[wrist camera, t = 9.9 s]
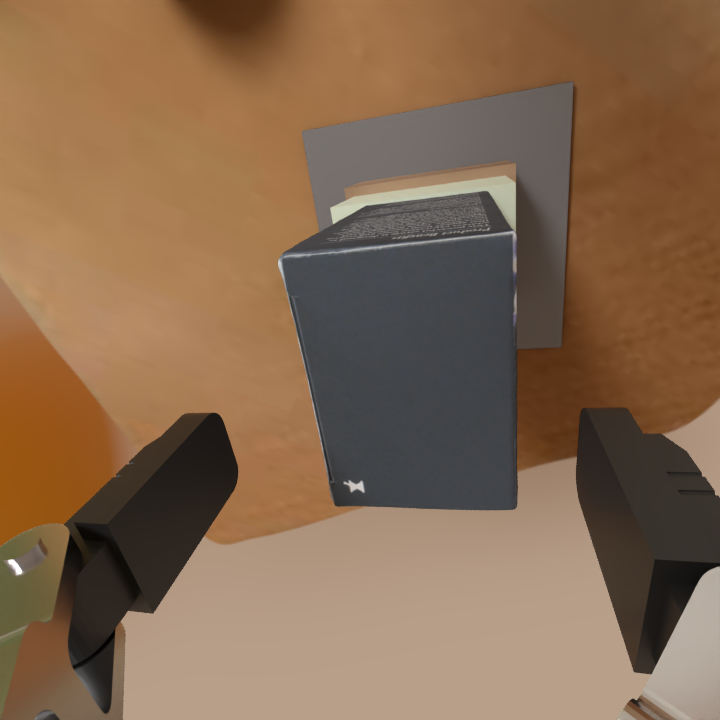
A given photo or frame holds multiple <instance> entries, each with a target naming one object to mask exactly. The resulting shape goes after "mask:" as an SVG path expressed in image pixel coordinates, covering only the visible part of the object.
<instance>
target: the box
mask: <svg viewBox="0 0 720 720" xmlns="http://www.w3.org/2000/svg"><path fill="white" fill-rule="evenodd" d="M278 266H279V270H280V272H281V275H282V277H283V281H284V285H285V288H286V292H287V295H288V300H289V304H290V308H291V312H292V316H293V320H294V323H295V327H296V332H297V337H298V342H299V346H300V351H301V355H302V359H303V363H304V367H305V371H306V375H307V380H308V384H309V390H310V395H311V399H312V403H313V409H314V413H315V418H316V422H317V427H318V431H319V436H320V441H321V447H322V451H323V456H324V461H325V467H326V471H327V477H328V482H329V490H330V493H331V498H332V500H333V502H334V504H335V506H338V507H340V506H370V507H399V508H419V509H449V510H513V509H515V508H516V507H517V490H518V485H517V325H516V315H517V292H516V288H517V235H516V233H515V231H514V230H513V229H512V228H511V226H510V224H509V223H508V222H507V220H506V219H505V217H504V216H503V214H502V212H501V211H500V209H499V208H498V206H497V204H496V203H495V201H494V199H493V198H492V196H491V195H490V193H489V192H488V191H481V192H473V193H466V194H458V195H449V196H444V197H434V198H426V199H419V200H409V201H401V202H393V203H385V204H376V205H366V206H365V207H363V208H361V209H359V210H357V211H356V212H354V213H352V214H351V215H348V216H347V217H345V218H343V219H341V220H339V221H337V222H336V223H335V224H333V225H331V226H329V227H328V228H325V229H324V230H322V231H321V232H319V233H317V234H315V235H313V236H311V237H310V238H308V239H306V240H304V241H302V242H300V243H299V244H297V245H295V246H294V247H293V248H291V249H289V250H287V251H285V252H284V253H283V254H282V255H281V257H280V258H279V260H278Z"/></svg>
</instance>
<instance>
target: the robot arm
mask: <svg viewBox="0 0 720 720" xmlns="http://www.w3.org/2000/svg"><path fill="white" fill-rule="evenodd" d="M237 479H238V465H237V462H236V459H235V456H234V453H233V449H232V446H231V443H230V440H229V437H228V434H227V431H226V428H225V425H224V422H223V420H222V418H221V416H220V415H218V414H217V413H187V414H184V415H182V416H181V417H180V418H179V419H178V420H177V421H176V422H175V423H174V424H173V425H172V426H171V427H170V428H169V429H168V430H167V431H166V432H165V433H164V434H163V435H162V436H161V437H159V438H158V439H156V440H155V441H153V442H151V443H150V444H148V445H147V446H145V447H144V448H143V449H142V450H141V451H140V452H139V453H138V454H137V455H136V456H135V457H134V458H132V459H131V460H130V461H129V465H125V466H124V467H123V468H122V469H121V470H120V471H119V472H118V473H117V474H116V477H113V478H112V479H111V480H110V481H109V482H108V483H107V484H106V485H104V486H103V487H102V488H101V489H100V490H99V491H98V492H97V493H96V494H95V495H94V496H93V497H92V498H91V499H90V500H89V501H88V502H87V503H86V504H85V505H84V506H83V507H82V508H81V509H80V510H79V511H77V513H75V514H74V515H73V516H72V517H71V518H70V519H69V520H68V521H67V522H66V523H65V524H64V525H62V524H46V525H42V526H39V527H36V528H33V529H31V530H28V531H25V532H24V533H21V534H19V535H18V536H16V537H14V538H12V539H11V540H9V541H8V542H6V543H5V544H3V545H2V546H1V547H0V720H123V696H124V665H125V636H126V635H125V629H124V626H123V624H122V623H121V620H122V618H123V617H124V616H125V614H126V613H127V611H135V612H144V613H154V611H155V610H156V608H157V607H158V605H159V604H160V602H161V601H162V599H163V598H164V596H165V595H166V593H167V591H168V590H169V589H170V587H171V586H172V584H173V582H174V581H175V579H176V578H177V576H178V575H179V573H180V572H181V570H182V569H183V567H184V566H185V564H186V563H187V561H188V560H189V558H190V556H191V555H192V553H193V552H194V550H195V549H196V547H197V545H198V544H199V543H200V541H201V540H202V538H203V537H204V535H205V534H206V532H207V531H208V529H209V527H210V526H211V524H212V523H213V521H214V520H215V518H216V517H217V515H218V514H219V512H220V511H221V509H222V508H223V506H224V505H225V503H226V502H227V500H228V498H229V497H230V495H231V494H232V492H233V491H234V489H235V487H236V484H237ZM576 484H577V491H578V498H579V502H580V505H581V508H582V511H583V515H584V518H585V521H586V524H587V527H588V530H589V533H590V536H591V540H592V543H593V546H594V549H595V552H596V555H597V558H598V561H599V564H600V568H601V571H602V574H603V577H604V580H605V583H606V586H607V589H608V592H609V596H610V599H611V602H612V605H613V608H614V611H615V614H616V617H617V620H618V624H619V627H620V630H621V633H622V636H623V639H624V642H625V645H626V649H627V652H628V655H629V658H630V661H631V664H632V667H633V670H634V672H637V673H645V674H652V675H651V677H650V679H649V681H648V683H647V685H646V687H645V689H644V690H643V692H642V694H641V696H640V697H639V698H638V700H635V699H631V700H630V701H629V702H628V703H627V705H626V706H625V708H624V709H623V711H622V712H621V714H620V715H619V717H618V719H617V720H720V498H719V496H716V495H715V491H714V489H713V488H712V486H711V485H710V484H709V482H708V481H707V479H706V478H705V477H702V473H701V471H700V470H699V468H698V467H697V465H696V464H695V463H694V461H693V460H692V458H691V457H690V456H689V454H688V453H687V451H685V450H684V449H682V448H681V447H679V446H678V445H676V444H675V443H674V442H672V441H671V440H669V439H668V438H666V437H665V436H663V435H662V434H643V433H642V431H641V430H640V428H639V426H638V425H637V423H636V421H635V420H634V418H633V416H632V415H631V413H630V412H629V410H628V409H627V408H583V409H582V411H581V414H580V423H579V437H578V451H577V465H576Z"/></svg>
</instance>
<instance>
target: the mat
mask: <svg viewBox="0 0 720 720" xmlns="http://www.w3.org/2000/svg"><path fill="white" fill-rule="evenodd" d="M573 83H574V81H573V82H567V83H562V84H556V85H551V86H545V87H540V88H534V89H529V90H524V91H518V92H513V93H507V94H502V95H496V96H491V97H485V98H480V99H475V100H469V101H464V102H458V103H453V104H447V105H442V106H436V107H431V108H426V109H420V110H415V111H409V112H404V113H398V114H393V115H388V116H382V117H377V118H371V119H366V120H360V121H355V122H349V123H344V124H339V125H333V126H328V127H322V128H317V129H311V130H306V131H302V136H303V141H304V147H305V153H306V158H307V164H308V169H309V175H310V181H311V186H312V192H313V198H314V203H315V209H316V214H317V220H318V226H319V231H320V232H321V231H322V230H324V229H325V228H328V227H329V226H331V225H333V222H332V215H331V209H330V208H331V207H333V206H335V205H337V204H340V203H342V202H344V201H346V197H345V190H344V188H346V187H349V186H352V185H355V184H357V183H360V182H364V181H371V180H377V179H384V178H391V177H398V176H404V175H411V174H418V173H425V172H432V171H438V170H445V169H452V168H459V167H465V166H472V165H479V164H486V163H492V162H499V161H506V160H508V161H511V162H514V163H516V235H517V288H516V292H517V315H516V325H517V349H534V348H556V347H562V327H563V305H564V283H565V261H566V239H567V216H568V194H569V172H570V150H571V128H572V105H573Z"/></svg>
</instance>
